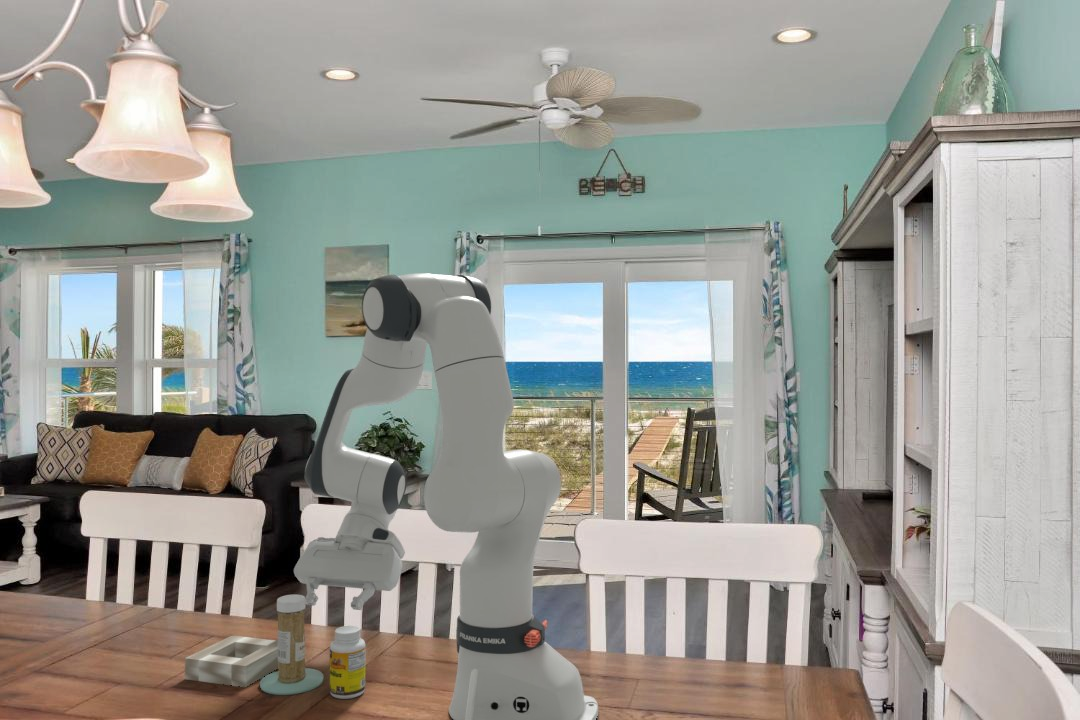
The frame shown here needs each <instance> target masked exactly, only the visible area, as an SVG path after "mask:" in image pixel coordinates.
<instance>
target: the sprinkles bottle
mask: <svg viewBox="0 0 1080 720" xmlns="http://www.w3.org/2000/svg"><path fill="white" fill-rule="evenodd" d="M305 598H306V596H305V595H302V594H297V593H296V594H286V595H283V596H280V597H278V598H277V599H276V611H277V641H278V669H277V671H278V680H279V681H280V682H283V683H294V682H298V681H300V680H302V679H304V678H305V676H306V673H305V668H306V664H305V663H306V660H305V659H306V635H305V634H306V633H305V632H306V630H305V629H306V628H305V609H306V608H307V607H306V605H307V604H306V600H305Z"/></svg>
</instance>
